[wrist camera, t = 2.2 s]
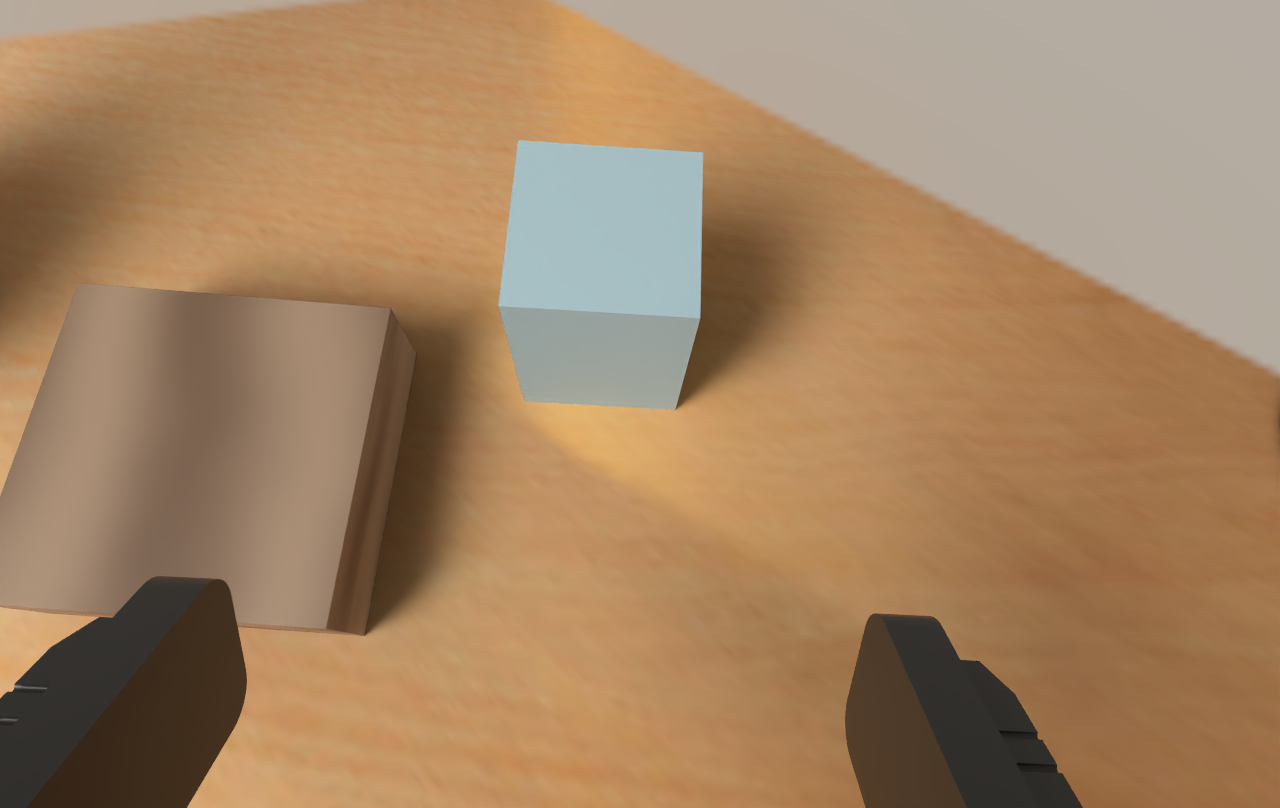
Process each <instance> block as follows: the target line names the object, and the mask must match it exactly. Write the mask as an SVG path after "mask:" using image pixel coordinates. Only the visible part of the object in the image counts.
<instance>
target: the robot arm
mask: <svg viewBox="0 0 1280 808" xmlns="http://www.w3.org/2000/svg"><path fill="white" fill-rule="evenodd" d="M246 685H247V675H246V668H245V663H244V658H243V652H242V647H241V642H240V637H239V632H238V626H237V621H236V616H235V611H234V606H233V600H232V595H231V591H230V589H229V586H228V585H227V583H226V582H225V581H223V580H221V579H210V578H190V577H170V576H156V577H153V578H151V579H149V580H148V581H146V582H145V583H144V584H143V585H142V586H141V587H140V588H139V590H138V591H137V592H136V593H135V594H134V595H133V596H132V597H131V598H130V599H129V600H128V601H127V602H126V604H125V605H124V606H123V607H122V608H121V609H120V610H119V611H118V612H117V613H116V614H115V615H114V616H113V618H111V617H99V618H97V619H96V620H94V621H92V622H91V623H89V624H87V625H86V626H84V627H83V628H81V629H79V630H78V631H76V632H75V633H73V634H71V635H70V636H68V637H67V638H65V639H63V640H62V641H60V642H59V643H57V644H55V645H54V646H52V647H51V648H50V649H49V650H48V651H47V652H46V653H45V654H44V655H43V656H42V657H41V658H40V659H39V660H38V661H37V662H36V663H35V664H34V665H33V666H32V667H31V668H30V669H29V670H28V671H27V672H26V673H25V674H24V675H23V676H22V677H21V678H20V679H19V680H18V681H17V682H16V683H15V688H14V690H13V691H12V692H6V693H5V694H4V695H3V696H2V697H1V698H0V808H187V806H188V805H189V803H190V801H191V800H192V798H193V796H194V795H195V793H196V791H197V790H198V788H199V786H200V785H201V783H202V781H203V780H204V778H205V776H206V774H207V773H208V771H209V769H210V768H211V766H212V764H213V763H214V761H215V759H216V758H217V756H218V754H219V753H220V751H221V749H222V748H223V746H224V744H225V742H226V741H227V739H228V737H229V736H230V734H231V732H232V731H233V729H234V727H235V725H236V723H237V721H238V719H239V716H240V714H241V711H242V707H243V704H244V699H245V694H246ZM845 726H846V739H847V746H848V750H849V755H850V758H851V761H852V765H853V768H854V771H855V774H856V778H857V781H858V784H859V787H860V790H861V794H862V797H863V800H864V803H865V807H866V808H1083V807H1082V806H1081V804H1080V802H1079V801H1078V799H1077V797H1076V796H1075V794H1074V792H1073V791H1072V789H1071V787H1070V786H1069V784H1068V782H1067V781H1066V779H1065V777H1064V775H1063V774H1062V773H1058V771H1057V764H1056V762H1055V760H1054V759H1053V757H1052V755H1051V754H1050V752H1049V750H1048V749H1047V747H1046V745H1045V744H1044V742H1043V740H1039V739H1038V737H1037V733H1038V732H1037V730H1036V729H1035V727H1034V725H1033V724H1032V722H1031V720H1030V719H1029V717H1028V715H1027V714H1026V712H1025V710H1024V709H1023V707H1022V705H1021V704H1020V702H1019V700H1018V699H1017V697H1016V695H1015V694H1014V693H1013V692H1012V691H1011V690H1010V689H1009V688H1008V687H1006V686H1005V685H1004V684H1003V683H1002V682H1001V681H1000V680H999V679H998V678H997V677H996V676H995V675H993V674H992V673H991V672H990V671H989V670H988V669H987V668H986V667H985V666H984V665H983V664H982V663H980V662H979V661H967V660H960V659H959V657H958V655H957V653H956V651H955V649H954V648H953V646H952V644H951V642H950V640H949V638H948V637H947V635H946V633H945V631H944V629H943V627H942V626H941V624H940V623H939V621H938V620H937V619H936V618H934V617H931V616H914V615H894V614H872V615H871V616H870V617H869V619H868V621H867V623H866V627H865V630H864V634H863V638H862V642H861V647H860V651H859V655H858V659H857V663H856V667H855V671H854V675H853V679H852V683H851V687H850V691H849V696H848V700H847V705H846V716H845Z"/></svg>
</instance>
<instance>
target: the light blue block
mask: <svg viewBox="0 0 1280 808" xmlns="http://www.w3.org/2000/svg"><path fill="white" fill-rule="evenodd" d="M702 187H703V152H688V151H673V150H658V149H643V148H628V147H613V146H598V145H583V144H568V143H553V142H538V141H523V140H518V146H517V155H516V163H515V171H514V180H513V188H512V196H511V205H510V213H509V221H508V230H507V238H506V246H505V255H504V263H503V272H502V280H501V288H500V297H499V305H498V306H499V310H500V314H501V317H502V321H503V325H504V328H505V332H506V336H507V339H508V343H509V347H510V350H511V354H512V358H513V361H514V365H515V369H516V372H517V376H518V380H519V383H520V387H521V390H522V394H523V398H524V401H525V402H542V403H560V404H578V405H596V406H613V407H631V408H649V409H667V410H675V409H676V406H677V402H678V398H679V395H680V391H681V387H682V384H683V380H684V376H685V373H686V369H687V365H688V362H689V358H690V354H691V351H692V347H693V343H694V340H695V336H696V332H697V329H698V325H699V321H700V308H701V248H702Z"/></svg>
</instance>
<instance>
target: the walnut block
mask: <svg viewBox="0 0 1280 808" xmlns="http://www.w3.org/2000/svg"><path fill="white" fill-rule="evenodd" d="M415 360H416V352H415V350H414V348H413V347H412V345H411V343H410V341H409V340H408V338H407V336H406V334H405V333H404V331H403V329H402V327H401V326H400V324H399V322H398V320H397V319H396V317H395V315H394V313H393V312H392V310H391V308H382V307H369V306H357V305H344V304H332V303H320V302H307V301H295V300H283V299H270V298H258V297H246V296H233V295H221V294H209V293H196V292H184V291H172V290H159V289H147V288H135V287H122V286H110V285H97V284H85V283H78V285H77V288H76V291H75V293H74V296H73V299H72V301H71V304H70V307H69V310H68V312H67V315H66V318H65V321H64V323H63V326H62V329H61V332H60V334H59V337H58V340H57V343H56V345H55V348H54V351H53V353H52V356H51V359H50V362H49V364H48V367H47V370H46V373H45V375H44V378H43V381H42V384H41V386H40V389H39V392H38V395H37V397H36V400H35V403H34V405H33V408H32V411H31V414H30V416H29V419H28V422H27V425H26V427H25V430H24V433H23V436H22V438H21V441H20V444H19V447H18V449H17V452H16V455H15V457H14V460H13V463H12V466H11V468H10V471H9V474H8V477H7V479H6V482H5V485H4V488H3V490H2V493H1V496H0V607H3V608H11V609H19V610H28V611H36V612H44V613H53V614H67V615H81V616H95V617H111V618H113V616H114V615H115V614H116V613H117V612H118V611H119V610H120V609H121V608H122V607H123V606H124V605H125V604H126V602H127V601H128V600H129V599H130V598H131V597H132V596H133V595H134V594H135V593H136V592H137V591H138V590H139V588H140V587H141V586H142V585H143V584H144V583H145V582H146V581H148V580H149V579H151V578H153V577H156V576H170V577H190V578H210V579H221V580H223V581H225V582H226V583H227V585H228V586H229V589H230V591H231V595H232V600H233V606H234V611H235V616H236V621H237V626H238V627H247V628H261V629H275V630H289V631H303V632H317V633H330V634H344V635H358V636H365V631H366V625H367V620H368V615H369V609H370V604H371V598H372V593H373V587H374V582H375V577H376V571H377V566H378V560H379V555H380V550H381V544H382V539H383V533H384V528H385V522H386V517H387V512H388V506H389V501H390V495H391V490H392V485H393V479H394V474H395V468H396V463H397V457H398V452H399V447H400V441H401V436H402V430H403V425H404V419H405V414H406V409H407V403H408V398H409V392H410V387H411V382H412V376H413V371H414V365H415Z"/></svg>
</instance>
